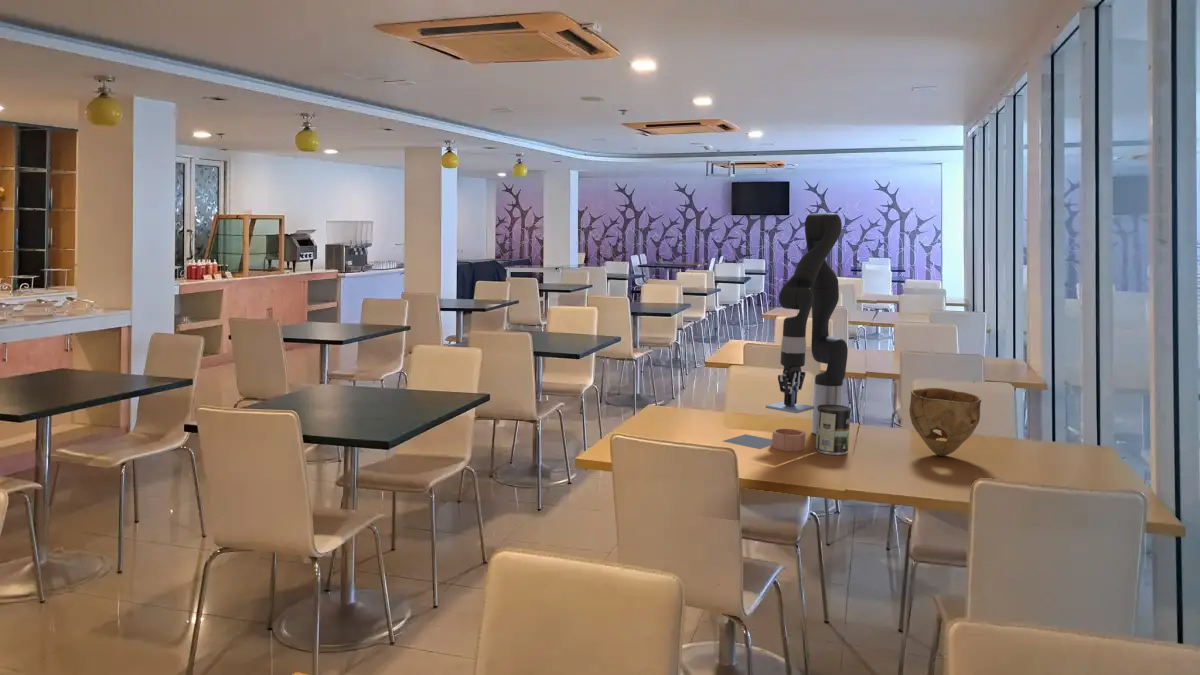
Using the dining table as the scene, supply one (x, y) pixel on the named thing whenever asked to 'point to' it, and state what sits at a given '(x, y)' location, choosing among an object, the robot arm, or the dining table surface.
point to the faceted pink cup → (788, 439)
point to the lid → (792, 408)
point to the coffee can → (832, 429)
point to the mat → (750, 441)
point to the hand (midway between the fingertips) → (790, 404)
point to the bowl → (944, 417)
